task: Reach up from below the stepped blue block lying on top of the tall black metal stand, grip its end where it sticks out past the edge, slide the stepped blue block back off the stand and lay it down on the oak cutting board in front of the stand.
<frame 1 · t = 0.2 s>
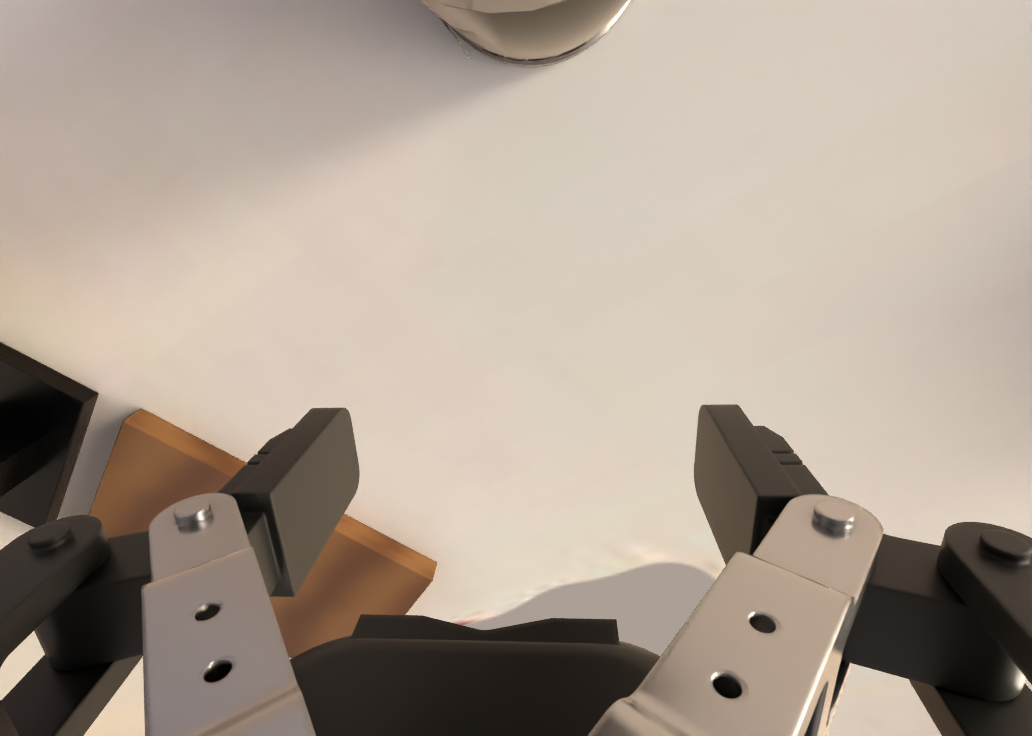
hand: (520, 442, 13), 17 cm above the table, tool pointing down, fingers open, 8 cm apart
board: (260, 551, 38), on the table
stand: (23, 434, 35), on the table
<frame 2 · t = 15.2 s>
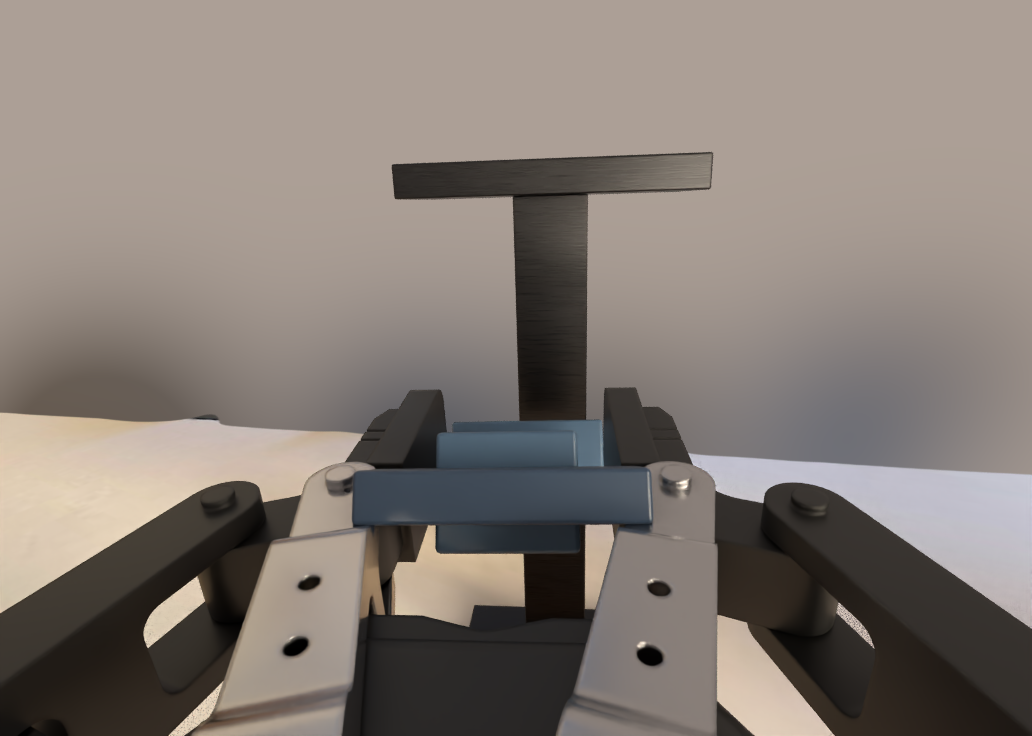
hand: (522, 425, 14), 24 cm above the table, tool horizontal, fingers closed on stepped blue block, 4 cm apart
stepped blue block: (514, 538, 11), point 23 cm above the table, tilted 26°, touching gripper
stand: (556, 659, 37), on the table
when the fingers open (10 cm above the table, at t = 19.4 s): stepped blue block drops 8 cm, resting on board.
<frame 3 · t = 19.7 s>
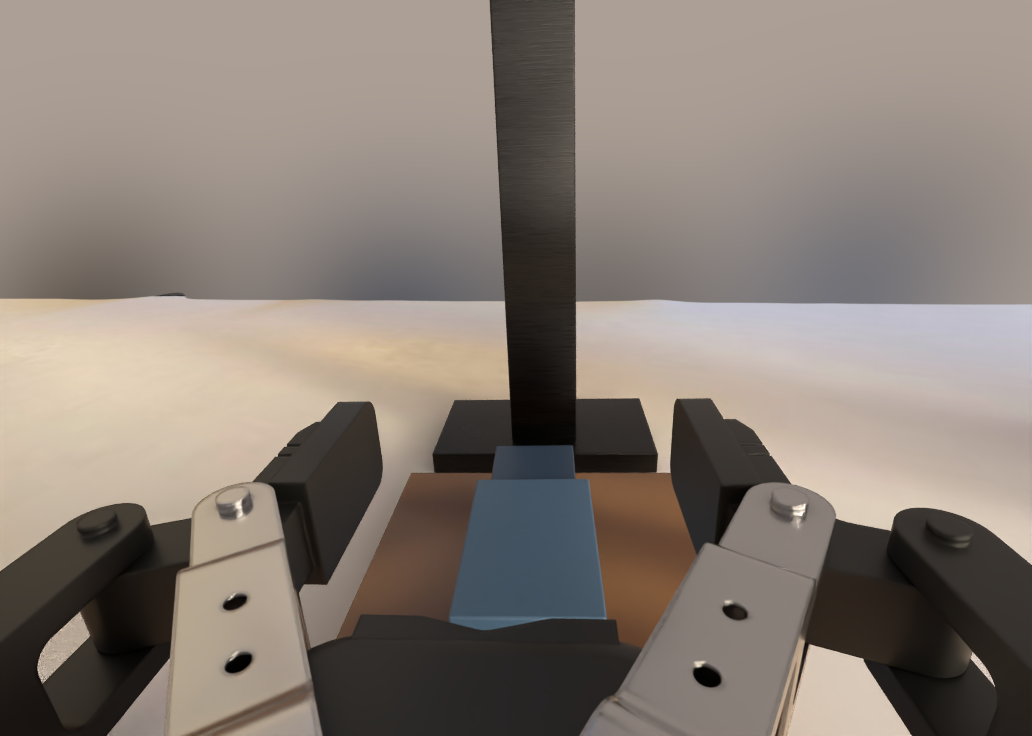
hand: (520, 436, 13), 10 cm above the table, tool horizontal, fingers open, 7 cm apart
board: (535, 691, 18), on the table
stand: (545, 441, 33), on the table
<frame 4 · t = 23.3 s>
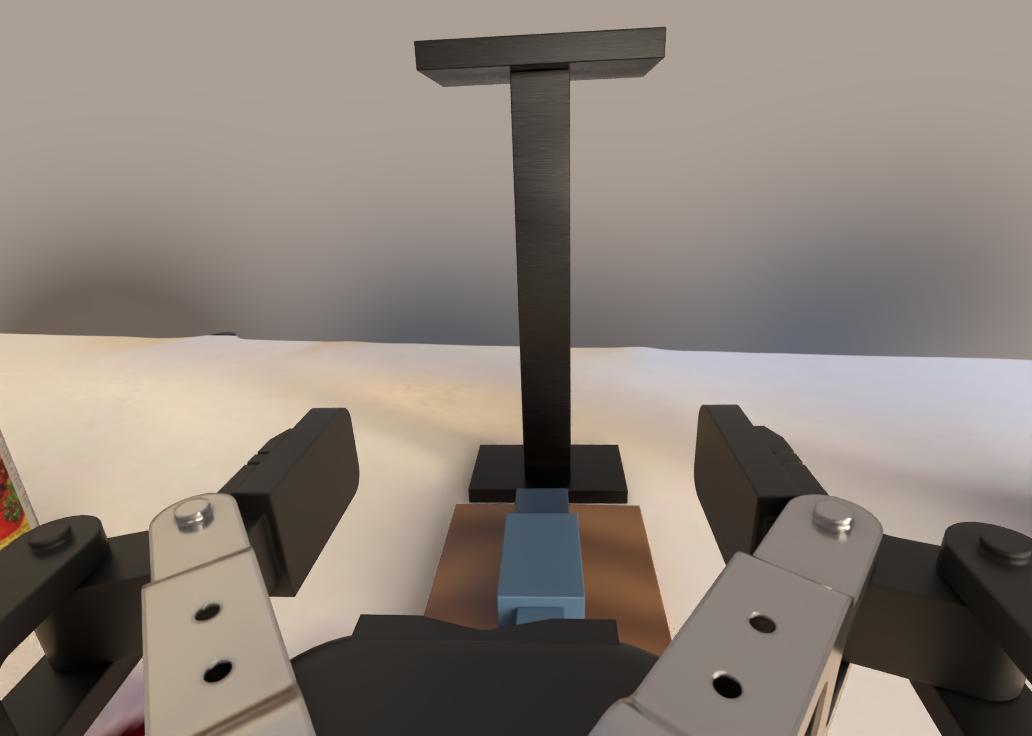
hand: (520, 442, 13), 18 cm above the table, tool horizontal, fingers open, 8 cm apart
board: (544, 642, 30), on the table
stepped blue block: (540, 731, 24), point 2 cm above the table, touching board
stand: (548, 478, 45), on the table
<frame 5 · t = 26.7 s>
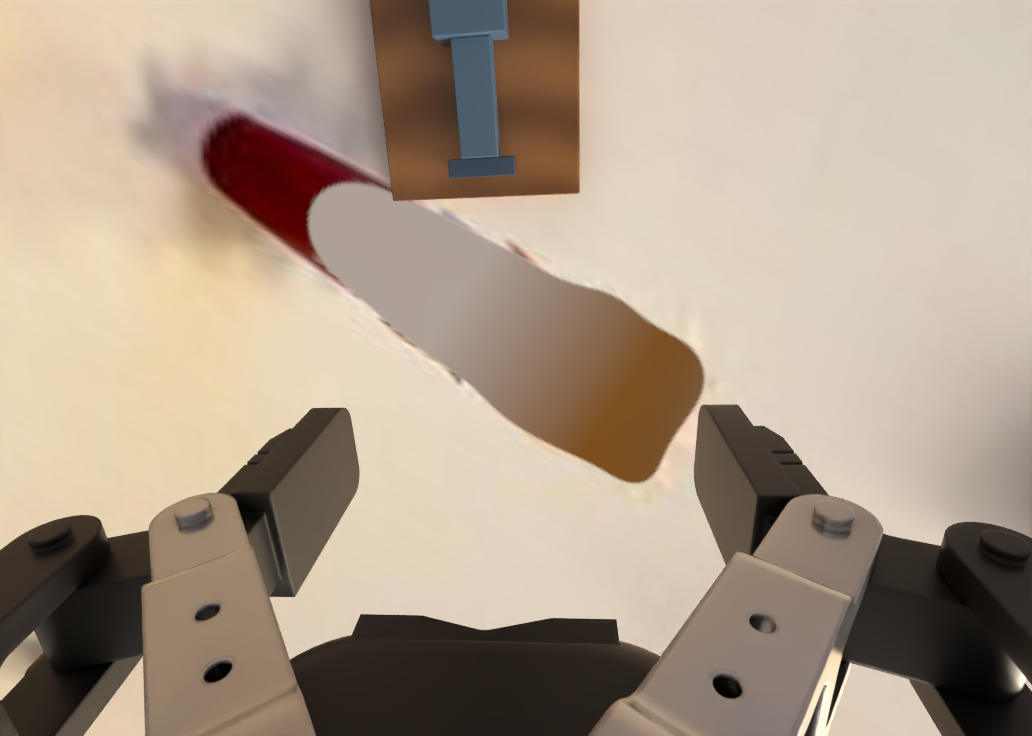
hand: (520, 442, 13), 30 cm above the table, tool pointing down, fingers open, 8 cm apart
board: (477, 26, 36), on the table
stepped blue block: (480, 128, 37), point 2 cm above the table, touching board
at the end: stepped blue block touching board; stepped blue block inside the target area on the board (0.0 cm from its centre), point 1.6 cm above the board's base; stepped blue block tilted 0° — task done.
